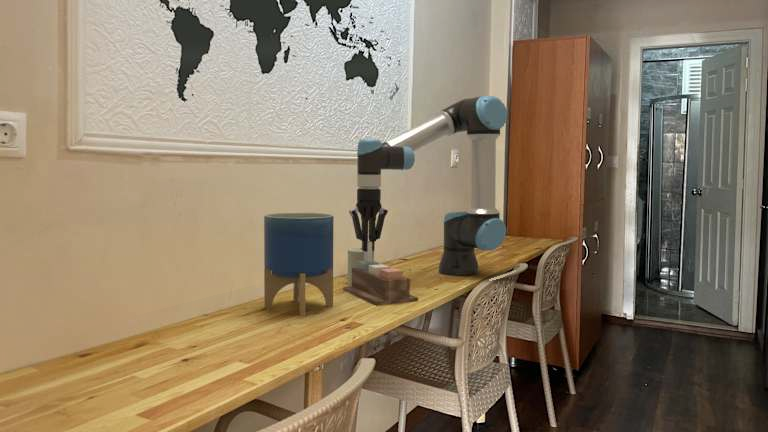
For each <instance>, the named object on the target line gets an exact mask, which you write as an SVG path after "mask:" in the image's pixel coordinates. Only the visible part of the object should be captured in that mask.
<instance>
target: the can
mask: <svg viewBox="0 0 768 432" xmlns="http://www.w3.org/2000/svg"><path fill="white" fill-rule="evenodd" d="M358 261H364V251H362V247H354V248H348V249H347V282H346V283H347V284H348V285H350V286H352V268H357V267H358ZM372 261H375V250H374V251H372Z"/></svg>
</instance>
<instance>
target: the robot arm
mask: <svg viewBox="0 0 768 432" xmlns="http://www.w3.org/2000/svg"><path fill="white" fill-rule="evenodd" d="M507 110H508V109H507V107H506V105H505V103H503V102H502V100H501V99H500V98H498V96H497V97H496V96H492V95H482V96H476V97H473V98H472V97H471V98H465V99H461V100H459V101H457V102H454V103H453V104H451V105H449V106H447V107H446V108H443V109H442V110H440V111H438V112H437V113H436V116H434V117H432V118H430V119H428V120H426V121H423V122H422V123H420V124H418V125H416V126H413V127H412V128H410V129H408V130H406V131H404V132H401V133H400V134H397V135H396V136H393V137H392V138H390V139H388V140H385V141H383V142H382V141H381V140H380V139H376V138H375V139H373V138H372V139H371V138H364V139H363V138H362V139H360V140H359V141H358V143H357V150H356V151H357V153H356V154H357V165H356V166H357V167H356V168H357V172H356V173H357V181H356V186H357V187H358V188H357V190H356V199H357V200H356V204H355V207H354V208H353V209H349V212H348V213H349V215H350V216H351V219H352V224H353V229H354V234H355V238H356V239H357V240H359V241H361V248H362V251H364V261H366V262H372V251H374V252H375V242H376V241H377V240H380V238H381V235H382V231H383V227H384V222H385V218H386V216H387V214H388V212H389V210H387V209H385V208H384V207H382V203H381V198H382V197H381V193H382V190H381V189H380V188H381V186H382V179H381V178H382V170H393V171H395V170H396V171H398V170H399V171H400V170H401V171H404V170H406V171H407V170H411V169H412V168H413V167H414V164H415V162H416V161H415V160H416V159H415V157H416V156H415V151H417V150H419V149H421V148H422V147H425V146H427V145H429V144H430V143H432V142H434V141H436V140H438V139H440V138H442V137H445V136H447V137H450V136H452V135H454V134H457V133H461V132H466V135H467V137H468V138H469V139H470V142H471V143H470V144H471V145H470V147H471V149H470V151H471V152H470V153H471V155H470V159H471V161H470V164H471V165H470V166H471V167H470V171H471V172H470V173H471V176H470V178H471V179H470V183H471V184H470V188H471V189H470V195H471V196H470V208H469V209H468V210H467V211H455V212H454V211H453V212H447V213H445V215H444V217H443V218H444V220H443V253H442V255H441V258H440V261H439V263H438V272H439V273H440V274H444V275H449V276H473V275H478V274H479V270H480V269H479V263H478V261H477V256H476V254H475V249H478V250H481V251H495V250H496V249H498V248H499V247H501V245H502V244H503V243H504V241H505V238H506V235H507V227H506V224H505V223H504V221H503V220H502V219H500V217H501V216H500V210H498V209H497V208H496V178H497V177H496V171H497V170H496V165H497V163H496V162H497V161H496V160H497V158H496V157H497V151H496V150H497V146H496V145H497V143H496V142H497V139H498V138H499V137H500V136H501V129H502V128H503V127H504V126H505V124H507V121H508V120H507V119H508V111H507ZM359 214H360V217H359ZM360 220H361V223H360Z"/></svg>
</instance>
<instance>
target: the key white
mask: <svg viewBox="0 0 768 432" xmlns="http://www.w3.org/2000/svg"><path fill="white" fill-rule="evenodd" d="M380 269H391V266H389V265H386V264H383V263H379V265H369V273H370V274H373V275H380Z"/></svg>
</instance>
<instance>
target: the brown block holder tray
mask: <svg viewBox="0 0 768 432" xmlns="http://www.w3.org/2000/svg"><path fill="white" fill-rule="evenodd" d="M410 281H411V278H409V277H406V276H403V279H392V280H386V279H383V278H381V277H380V275H373V274H370V273H369V271H362V270H359V269H358V267H357V268H352V285H350V286H347V285H346V286H342V289H343V291H345V292H347V293H349V294H351V295H353V296H355V297H358V298H359V299H362V300H364V301H366V302H368V303H370V304H372V305H375V306H383V305H393V304H394V305H395V304H403V303H411V302H413V303H414V302H418V301H419V297H418V296H415V295H412V294H410V290H411V289H410V285H411V284H410Z"/></svg>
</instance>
